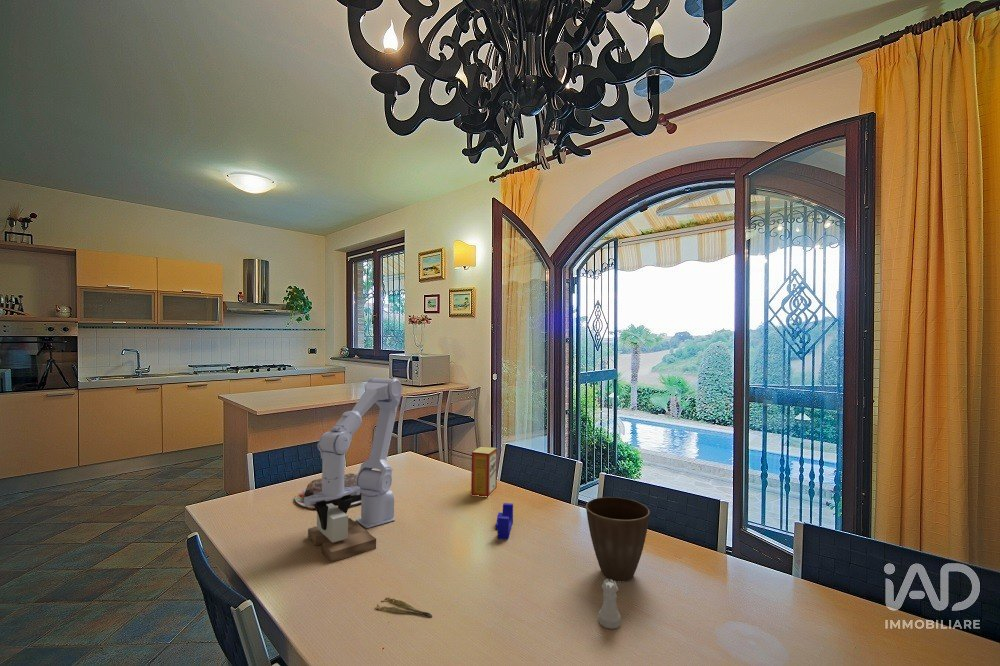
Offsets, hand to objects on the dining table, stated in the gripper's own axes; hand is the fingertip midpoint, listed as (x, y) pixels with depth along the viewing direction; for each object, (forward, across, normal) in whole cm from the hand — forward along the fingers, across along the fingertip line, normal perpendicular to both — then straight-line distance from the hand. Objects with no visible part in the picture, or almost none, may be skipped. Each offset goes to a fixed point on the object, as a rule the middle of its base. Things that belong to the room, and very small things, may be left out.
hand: (332, 526), depth 120 cm
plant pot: (+5, -48, +58) cm, 75 cm away
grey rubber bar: (+2, 0, 0) cm, 2 cm away
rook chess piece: (+5, -30, +68) cm, 75 cm away
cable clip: (+6, -43, +22) cm, 48 cm away
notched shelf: (+5, -2, 0) cm, 6 cm away
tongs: (+6, -2, +38) cm, 39 cm away
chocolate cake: (+6, -16, -37) cm, 41 cm away
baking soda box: (+5, -58, -7) cm, 59 cm away
